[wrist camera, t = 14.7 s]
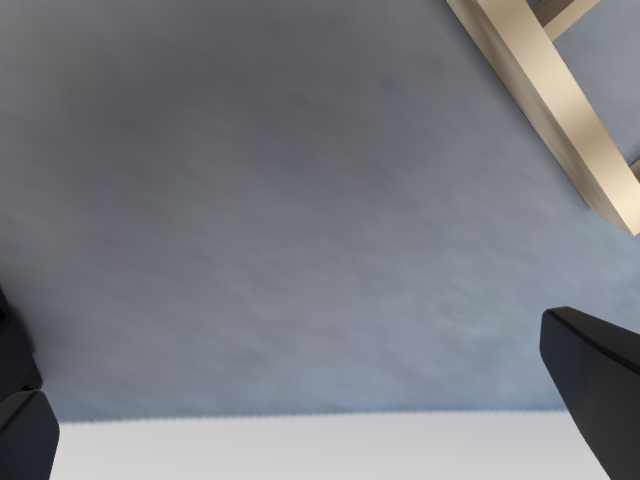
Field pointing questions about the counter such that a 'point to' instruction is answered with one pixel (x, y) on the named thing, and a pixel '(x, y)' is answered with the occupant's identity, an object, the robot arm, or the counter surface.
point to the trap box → (555, 97)
